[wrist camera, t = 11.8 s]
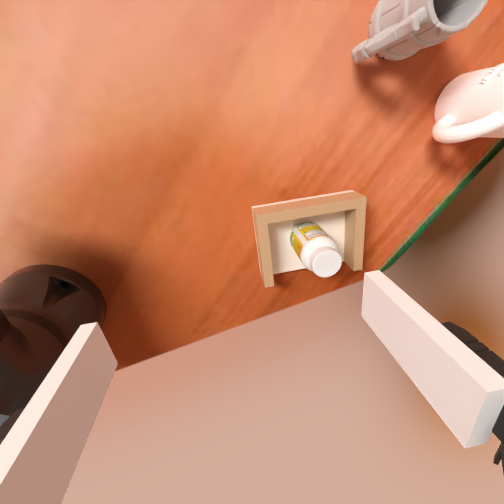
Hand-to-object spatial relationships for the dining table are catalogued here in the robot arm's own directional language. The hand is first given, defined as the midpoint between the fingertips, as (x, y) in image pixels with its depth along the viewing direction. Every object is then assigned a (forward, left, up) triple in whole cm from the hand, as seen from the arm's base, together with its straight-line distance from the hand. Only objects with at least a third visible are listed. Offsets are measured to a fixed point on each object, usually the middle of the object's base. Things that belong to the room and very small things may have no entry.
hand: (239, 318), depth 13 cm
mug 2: (+34, +6, -29) cm, 45 cm away
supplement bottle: (+12, -9, -28) cm, 32 cm away
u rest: (+12, -9, -29) cm, 32 cm away
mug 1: (+23, +16, -29) cm, 40 cm away
